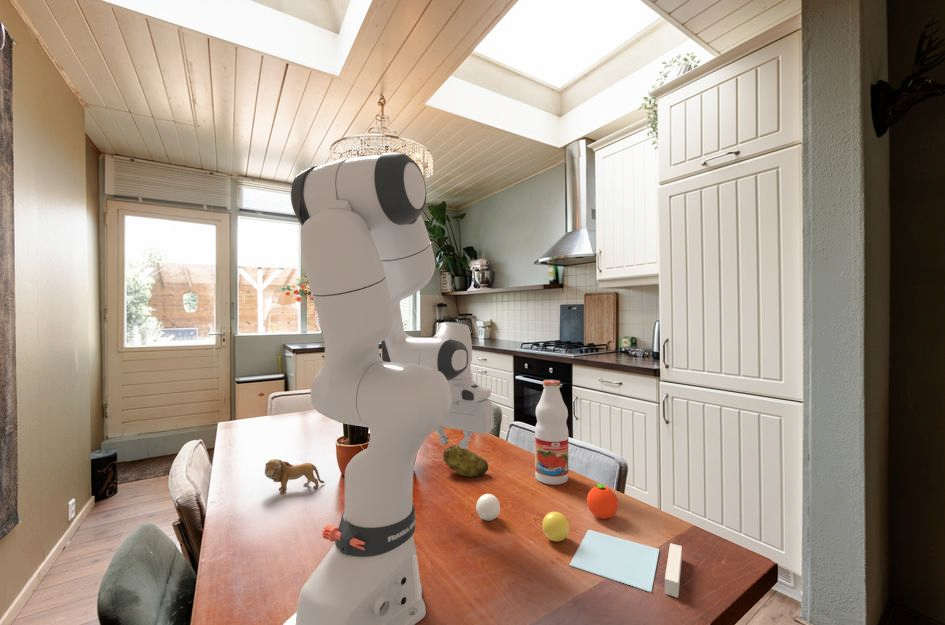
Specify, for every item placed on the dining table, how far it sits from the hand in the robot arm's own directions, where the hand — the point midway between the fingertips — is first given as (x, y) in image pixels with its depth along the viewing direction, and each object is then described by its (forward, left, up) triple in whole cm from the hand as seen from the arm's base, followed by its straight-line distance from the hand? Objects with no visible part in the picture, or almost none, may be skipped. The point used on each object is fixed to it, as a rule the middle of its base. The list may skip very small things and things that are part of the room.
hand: (453, 445), depth 95 cm
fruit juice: (+29, -14, -15) cm, 36 cm away
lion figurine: (-14, +42, -15) cm, 47 cm away
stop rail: (0, -47, -15) cm, 50 cm away
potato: (+19, +9, -15) cm, 26 cm away
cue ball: (0, -9, -12) cm, 16 cm away
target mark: (0, -37, -15) cm, 40 cm away
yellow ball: (0, -25, -12) cm, 28 cm away
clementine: (+15, -31, -15) cm, 38 cm away
